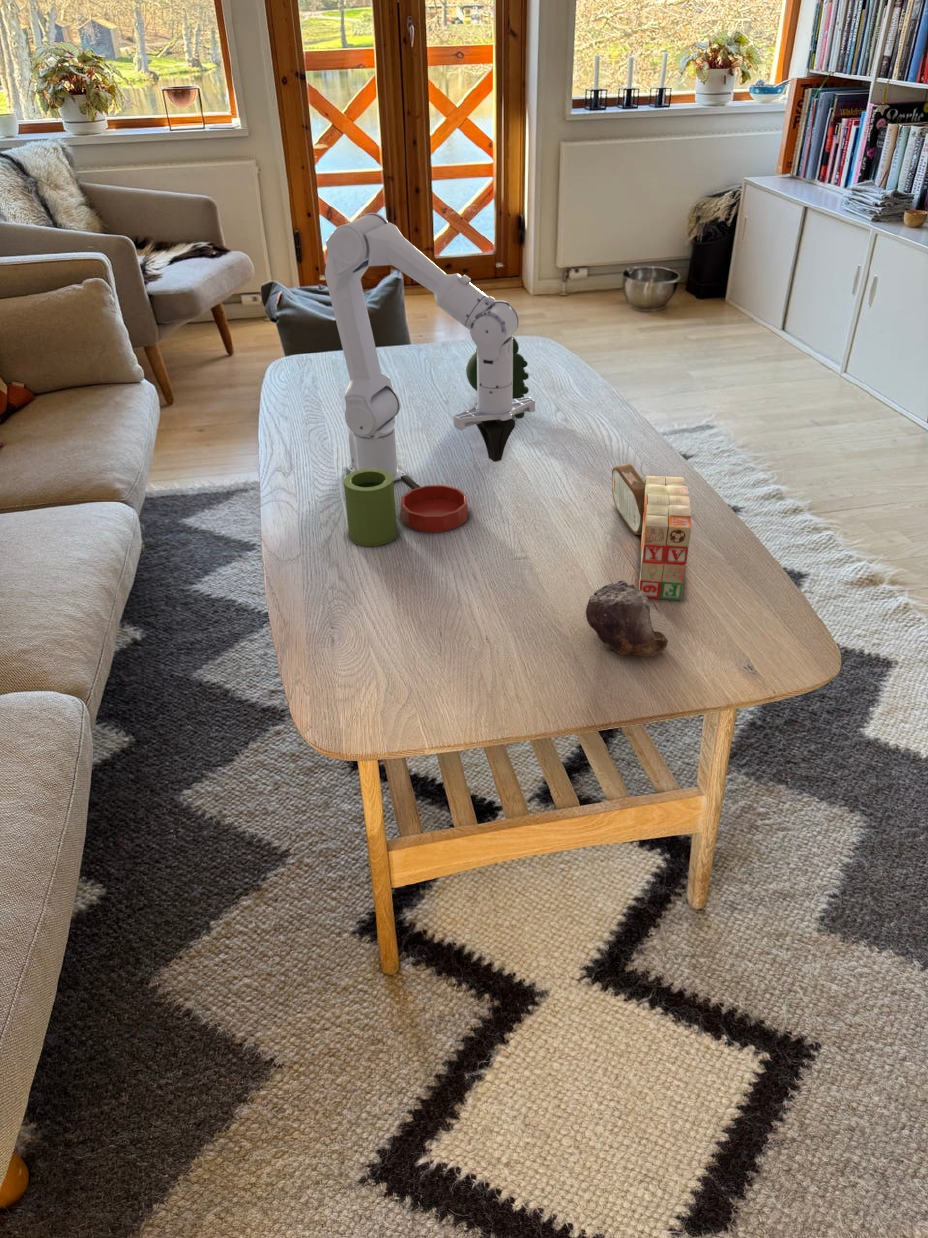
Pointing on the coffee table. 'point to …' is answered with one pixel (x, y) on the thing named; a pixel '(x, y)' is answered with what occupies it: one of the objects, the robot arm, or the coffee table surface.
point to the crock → (370, 506)
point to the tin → (629, 496)
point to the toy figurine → (518, 374)
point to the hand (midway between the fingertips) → (495, 459)
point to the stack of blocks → (665, 537)
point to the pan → (433, 507)
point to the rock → (624, 620)
